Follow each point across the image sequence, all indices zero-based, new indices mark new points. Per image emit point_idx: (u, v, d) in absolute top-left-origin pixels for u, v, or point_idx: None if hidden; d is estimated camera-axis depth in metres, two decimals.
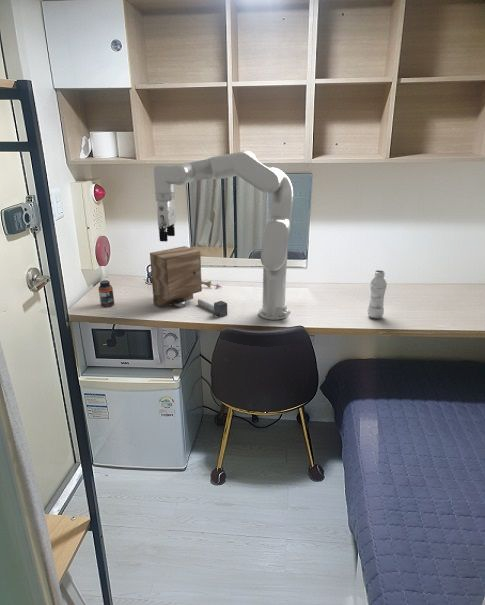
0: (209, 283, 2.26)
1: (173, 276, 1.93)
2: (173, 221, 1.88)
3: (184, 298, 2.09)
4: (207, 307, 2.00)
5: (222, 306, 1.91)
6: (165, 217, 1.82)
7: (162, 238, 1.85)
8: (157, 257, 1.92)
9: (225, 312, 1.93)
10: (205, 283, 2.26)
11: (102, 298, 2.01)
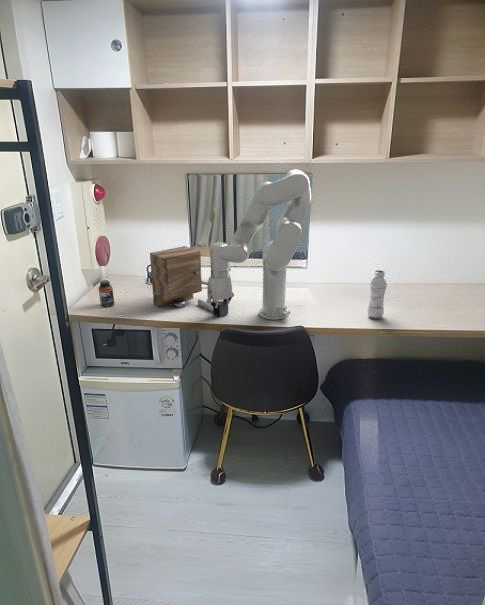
0: None
1: (173, 276, 1.93)
2: None
3: (184, 298, 2.09)
4: (207, 307, 2.00)
5: (222, 306, 1.91)
6: None
7: None
8: (157, 257, 1.92)
9: (225, 312, 1.93)
10: (206, 283, 2.26)
11: (102, 298, 2.01)
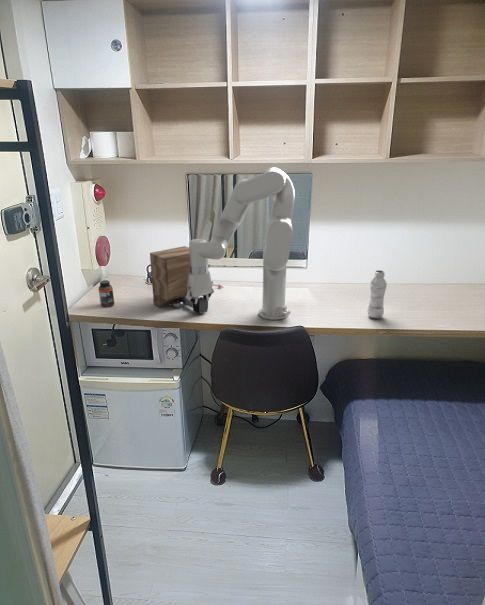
0: None
1: (173, 276, 1.93)
2: None
3: None
4: (188, 303, 2.01)
5: (202, 302, 1.92)
6: None
7: None
8: (157, 257, 1.92)
9: (205, 308, 1.94)
10: None
11: (102, 298, 2.01)
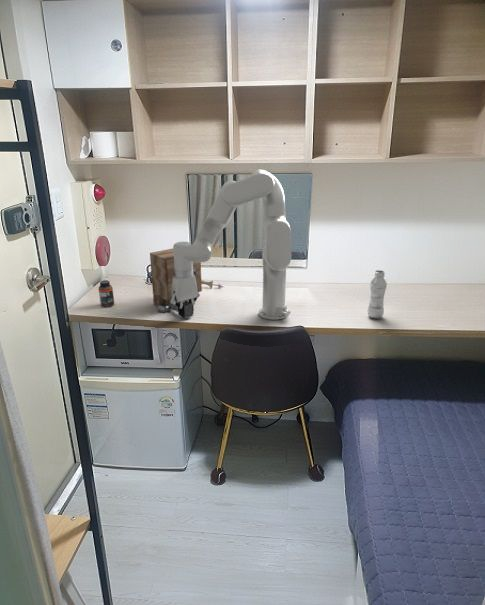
0: (211, 283, 2.26)
1: (173, 276, 1.93)
2: None
3: None
4: (173, 307, 1.96)
5: (187, 306, 1.88)
6: None
7: None
8: (157, 257, 1.92)
9: (190, 312, 1.90)
10: (207, 283, 2.26)
11: (102, 298, 2.01)
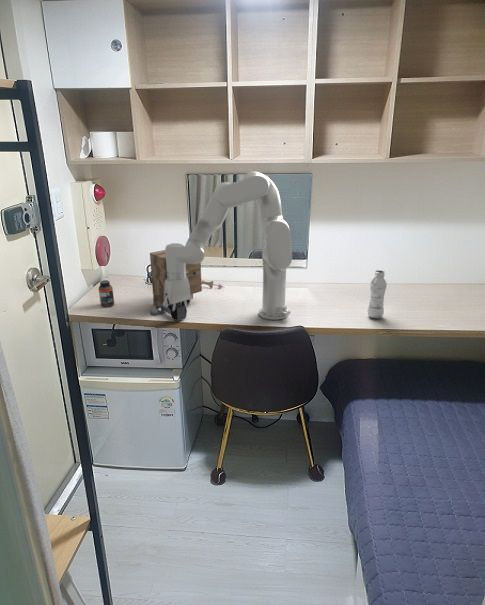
0: (211, 283, 2.26)
1: None
2: None
3: None
4: (166, 310, 1.94)
5: (180, 309, 1.85)
6: None
7: None
8: (157, 257, 1.92)
9: (183, 315, 1.87)
10: (207, 283, 2.26)
11: (102, 298, 2.01)
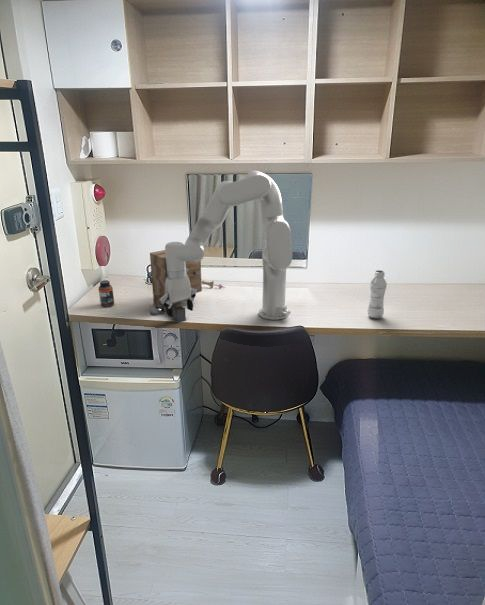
0: (212, 283, 2.25)
1: None
2: None
3: None
4: (166, 312, 1.95)
5: (180, 311, 1.86)
6: None
7: None
8: (157, 257, 1.92)
9: (183, 317, 1.88)
10: (208, 283, 2.26)
11: (102, 298, 2.01)
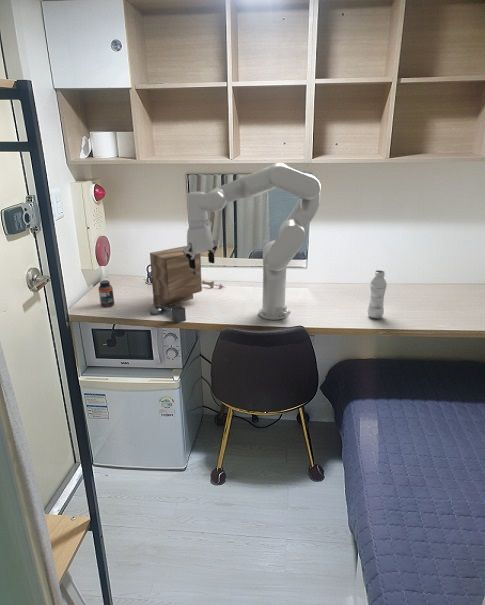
0: (212, 283, 2.25)
1: (173, 276, 1.93)
2: None
3: (184, 298, 2.09)
4: (166, 312, 1.95)
5: (180, 311, 1.86)
6: None
7: None
8: (157, 257, 1.92)
9: (183, 317, 1.88)
10: (208, 283, 2.26)
11: (102, 298, 2.01)
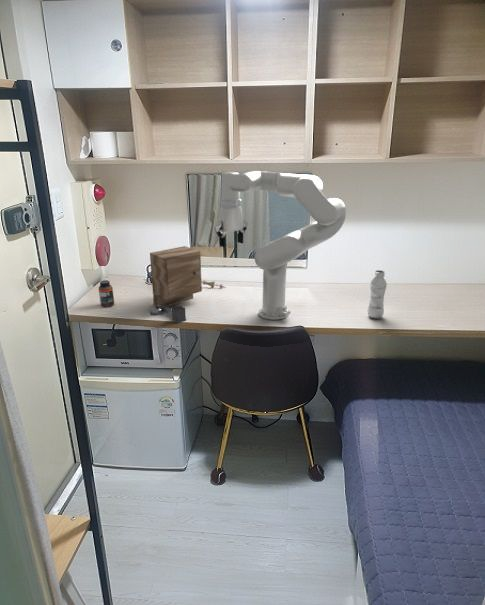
0: (213, 283, 2.25)
1: (173, 276, 1.93)
2: None
3: (184, 298, 2.09)
4: (166, 312, 1.95)
5: (180, 311, 1.86)
6: None
7: None
8: (157, 257, 1.92)
9: (183, 317, 1.88)
10: (209, 283, 2.26)
11: (102, 298, 2.01)
